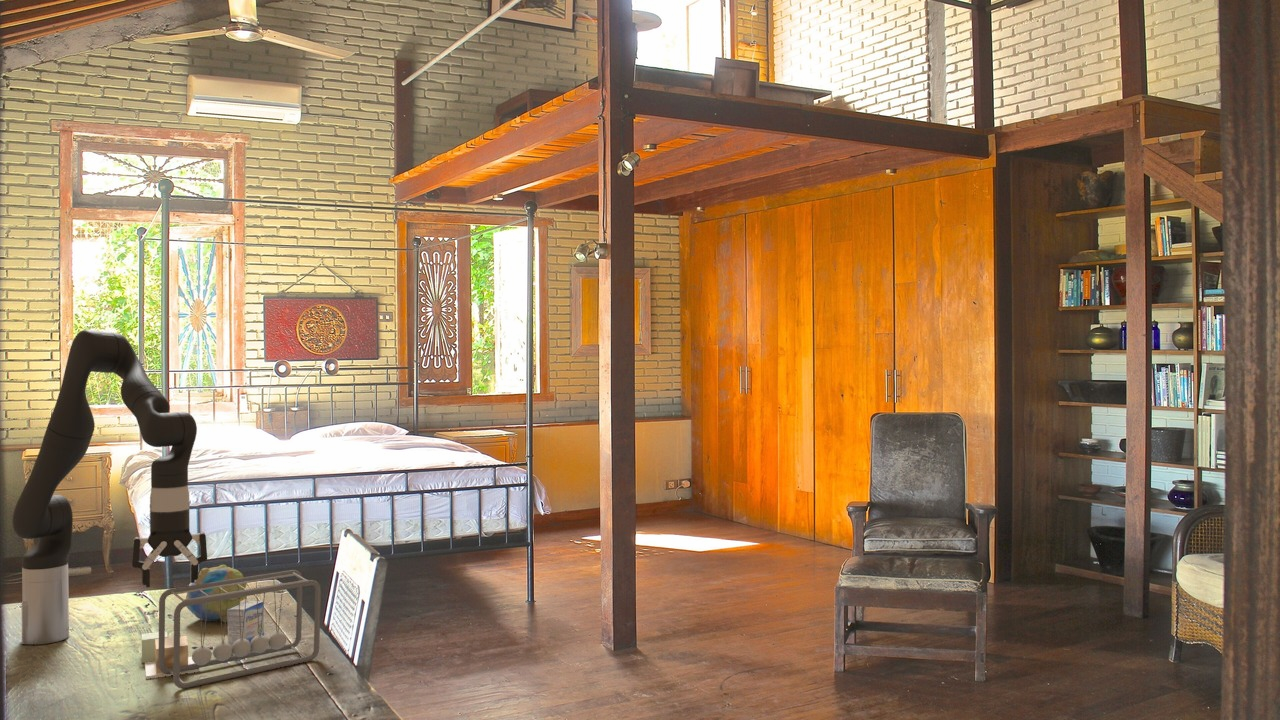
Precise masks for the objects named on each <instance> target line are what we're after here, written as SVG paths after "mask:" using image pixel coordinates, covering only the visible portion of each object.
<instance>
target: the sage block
mask: <svg viewBox="0 0 1280 720" xmlns="http://www.w3.org/2000/svg"><path fill="white" fill-rule="evenodd" d="M165 638H169V637H168V631H165ZM155 639H159V631H157V632H149V633H142V634H141V664H142V663H144V664H145V663H147V662H154V661H155Z"/></svg>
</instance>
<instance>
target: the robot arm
mask: <svg viewBox="0 0 1280 720" xmlns="http://www.w3.org/2000/svg"><path fill="white" fill-rule="evenodd" d="M91 372H93V373H94V372H95V373H104V374H107V373H108V374H111V373H113V374H115V375H117V376H118V377H120V378H121V379H122V384H121V387H120V396H121V400H122V402H123V404H124V405H125V406H126V408H127V409H128V410H129V412H130V413H131V414H132V415H133V416H134V417H135V418H136V422H137V424H138V427H139V431H140V435H141V438H142V440H143V441H144V443H146V444H147V445H149V446H150V447H153V448H166V447H171V449H170V450H169V453H168V454H166V455H164V456H163V457H160V458H157V459H155V460H153V461H152V463H151V467H150V471H151V472H150V473H151V475H150V484H151V485H150V486H151V488H150V495H149V536H148V537H139V536H135V537H134V538H133V545H132V561H131V563H132V564H131V565H132V567H133V568H137V569H140V570H141V571H142V572H141V573H142V574H141V579H142V580H141V581H142V585H143V586H145V587H146V588H150V587H151V579H150V577H151V576H150V575H151V572H150V567H151V565H152V564H153V563H154V561H155V560H156V559H157V558H158V557H162V558H166V557H167V558H168V557H171V556H172V557H179V556H180V555H183V556H184V557H185V559H187V560H188V561H189V562H190V564H189V565H190V573H189V574H190V583H195V580H197V579H198V574H199V564H200V563H201V564H202V563H203V562H206V561H208V549H207V535H206V533H205V532H204V531H200V532H199V533H191V531H190V503H191V502H190V492H189V473H188V472H189V463H190V459H191V456H192V451H193V448H194V444H195V442H196V437H197V432H198V427H197V423H196V420H195V418H194V416H193V415H191V413H189V412H186V411H177V412H176V411H175V412H170V403H169V401H168V399H167V398H166V397H165V396H164V394H163V393H162V392H161V391H160V390H159V389H158V388H157V387H156V385H155V384H154V383H153V381H151V379H150V378H149V376H148V374H147V373H146V371H145V369H144V368H143V365H142V363H141V361H140V360H139V358H138V355H137V354H136V351H135V349H134V348H133V346H132V344H131V343H130V341H129V340H128V339H127V337H125V336H124V335H122V334H120V333H117V332H113V331H112V332H111V331H110V332H109V331H101V330H95V329H94V330H93V329H84V330H80V331H79V332H78V333H77V334H76V336H75V337H74V338H73V340H72V343H71V346H70V348H69V353H68V356H67V360H66V365H65V369H64V373H63V377H62V380H61V387H60V389H59V393H58V396H57V399H56V402H55V404H54V405H55V406H54V408H53V411H52V413H51V415H50V418H49V421H48V423H47V427H46V430H45V432H44V435H43V439H42V442H41V445H40V448H39V451H38V453H37V457H36V459H35V462H34V465H33V467H32V470H31V473H30V474H29V477H28V479H27V482H26V484H25V485H24V488H23V489H22V492H21V494H20V496H19V497H18V500H17V502H16V505H15V507H14V510H13V514H12V519H11V520H12V528H13V531H14V532H15V534H16V536H18V537H19V538H21V539H24V540H25V539H26V540H27V539H28V540H33V539H38V538H39V539H38V542H37V544H35V545H34V546H33V548H31V549H30V550H28V551H27V552H26V553H24V554H23V556H22V557H21V574H22V576H21V577H22V578H21V579H22V580H21V581H22V585H21V586H22V593H21V594H22V601H21V606H20V607H21V645H22V644H25V645H33V644H34V645H45V644H53V643H57V642H61V641H64V640H66V639H68V638H69V637H70V622H69V621H70V619H69V618H70V613H69V612H70V609H69V608H70V607H69V599H70V598H69V594H70V593H69V556H70V554H71V550H72V544H73V541H72V540H73V539H72V538H73V526H74V525H73V522H74V519H73V517H74V516H73V509H72V506H71V503H70V502H69V499H68V498H67V497H65V496H64V495H61V494H54V493H55V491H56V490H57V487H59V484H61V482H62V481H63V480H64V479H65V478H66V477H67V475H68V474H70V473H71V471H72V470H74V469H75V467H77V465H78V464H79V463H80V462H81V460H82V459H83V458H84V456H85V455H86V453H87V451H88V449H89V446H90V443H91V440H92V437H93V434H94V431H95V426H96V425H95V424H96V423H95V418H94V415H93V412H92V409H91V408H90V404H89V401H88V398H87V391H86V388H87V383H88V379H89V377H90V374H91ZM192 540H194V542H195V543H196V544H197V545H199V555H198V556H195V555H194V553H193V552H192V551H191V550H190V549H189V548H188V546H189V545H190V543H191V542H192ZM146 544H148V545H149V547H151V549H152V550H151V552H149V554H148V555H147V557H146V558H145V559H144V561H142V560H140V555H141V554H140V551H141V549H143V548H144V547H145V545H146Z"/></svg>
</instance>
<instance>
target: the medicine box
mask: <svg viewBox="0 0 1280 720" xmlns="http://www.w3.org/2000/svg"><path fill="white" fill-rule="evenodd" d="M264 608H265V607H264ZM264 608H263V601H259V600H258V613H257V600H249V601H248V600H246V609H245V602H243V603H240V619H239V605H238V606H235V607H233V608H231V609H228V610H227V619H228V622H227V643H229V644H230V645H231V647H232V645H233V643H234V642H235V641H236V640H238V639H240V623H241V638H242V632H243V639H246V640H248V641H249V642H250V643H251V640H252V639H253V638H254V637H255V636H258V635H259V634H260V631H261V635H263V636H265V609H264ZM262 610H263V618H262ZM244 611H245V619H244ZM258 617H259V631H258ZM261 620H262V628H261ZM243 621H244V630H243Z"/></svg>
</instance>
